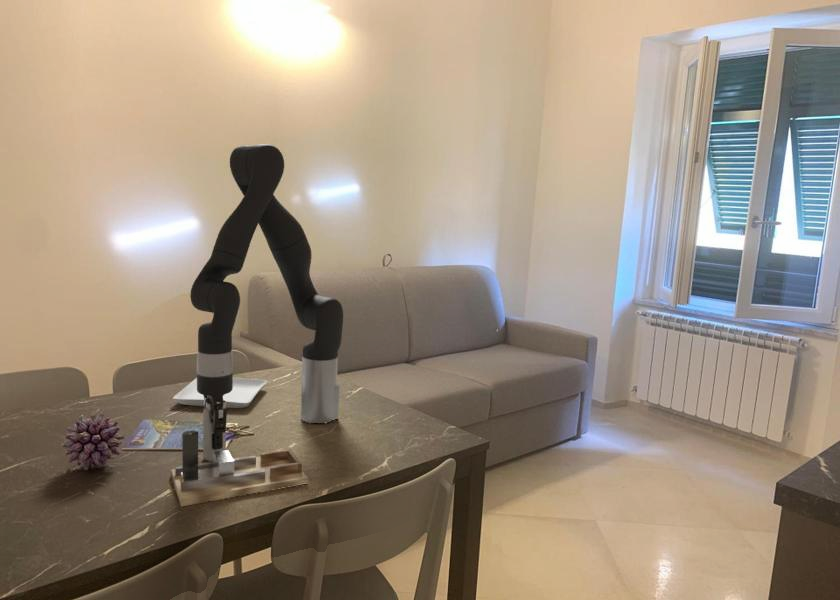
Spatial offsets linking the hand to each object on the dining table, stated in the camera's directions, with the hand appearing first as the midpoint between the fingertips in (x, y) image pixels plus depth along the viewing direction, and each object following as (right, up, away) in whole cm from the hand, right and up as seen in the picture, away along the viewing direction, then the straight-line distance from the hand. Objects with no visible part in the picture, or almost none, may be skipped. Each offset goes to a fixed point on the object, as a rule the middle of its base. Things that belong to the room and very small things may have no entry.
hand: (214, 443), depth 143 cm
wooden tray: (+8, -5, -9) cm, 14 cm away
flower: (-23, -4, -7) cm, 25 cm away
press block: (+3, -4, -13) cm, 14 cm away
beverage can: (0, -3, +1) cm, 4 cm away
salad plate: (-11, +3, +41) cm, 42 cm away
